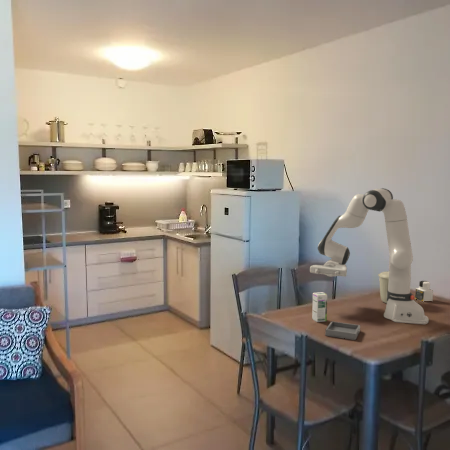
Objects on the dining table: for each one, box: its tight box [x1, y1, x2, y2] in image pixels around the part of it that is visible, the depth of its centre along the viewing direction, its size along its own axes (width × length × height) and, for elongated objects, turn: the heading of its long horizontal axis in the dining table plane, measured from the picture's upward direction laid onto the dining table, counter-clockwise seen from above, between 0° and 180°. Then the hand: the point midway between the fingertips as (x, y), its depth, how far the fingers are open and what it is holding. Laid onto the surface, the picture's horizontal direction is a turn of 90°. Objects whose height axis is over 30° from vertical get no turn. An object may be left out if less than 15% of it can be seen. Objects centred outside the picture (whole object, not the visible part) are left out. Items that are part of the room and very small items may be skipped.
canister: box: [377, 270, 389, 304], centre depth 279 cm, size 18×18×21 cm
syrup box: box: [311, 291, 328, 323], centre depth 243 cm, size 6×6×14 cm
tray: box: [324, 320, 361, 341], centre depth 224 cm, size 14×14×3 cm
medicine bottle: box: [414, 280, 434, 303], centre depth 285 cm, size 7×7×12 cm
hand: (325, 273), depth 253 cm, fingers open, 8 cm apart
